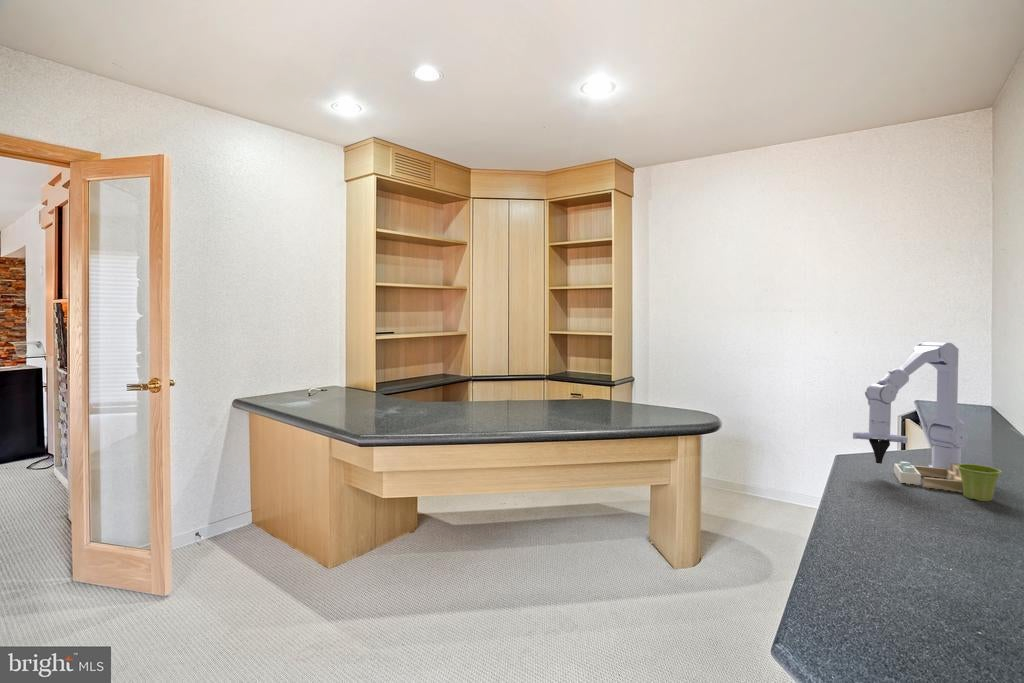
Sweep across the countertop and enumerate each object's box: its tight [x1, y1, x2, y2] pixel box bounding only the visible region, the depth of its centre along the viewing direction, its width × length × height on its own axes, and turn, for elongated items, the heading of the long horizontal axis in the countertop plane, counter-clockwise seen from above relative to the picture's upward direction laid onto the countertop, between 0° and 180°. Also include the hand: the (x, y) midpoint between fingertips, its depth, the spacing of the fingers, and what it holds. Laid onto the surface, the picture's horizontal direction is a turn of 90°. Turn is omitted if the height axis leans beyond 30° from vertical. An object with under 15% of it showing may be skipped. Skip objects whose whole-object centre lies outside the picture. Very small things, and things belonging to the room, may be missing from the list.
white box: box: [893, 461, 922, 486], centre depth 172 cm, size 12×5×5 cm, turn 153°
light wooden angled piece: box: [913, 463, 963, 493], centre depth 168 cm, size 16×13×5 cm
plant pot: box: [957, 463, 1002, 502], centre depth 154 cm, size 9×9×9 cm
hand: (878, 462), depth 175 cm, fingers closed
